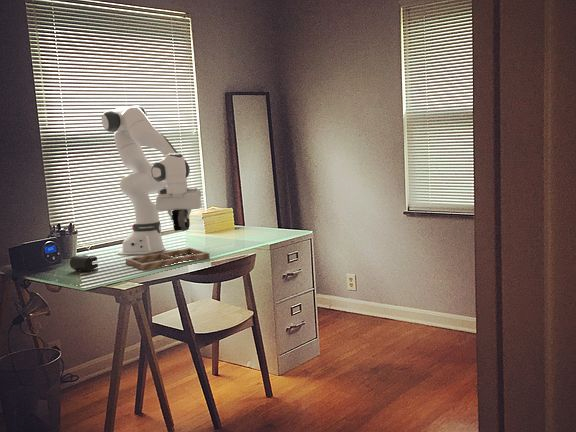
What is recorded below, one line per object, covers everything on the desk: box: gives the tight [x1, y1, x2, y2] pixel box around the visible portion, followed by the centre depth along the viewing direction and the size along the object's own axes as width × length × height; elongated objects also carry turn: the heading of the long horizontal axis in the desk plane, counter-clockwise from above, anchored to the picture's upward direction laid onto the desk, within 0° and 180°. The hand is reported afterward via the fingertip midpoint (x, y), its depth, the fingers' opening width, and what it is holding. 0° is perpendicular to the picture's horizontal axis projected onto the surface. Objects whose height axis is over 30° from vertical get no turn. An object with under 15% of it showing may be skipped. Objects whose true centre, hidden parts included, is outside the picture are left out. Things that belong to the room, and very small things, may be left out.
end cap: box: [69, 254, 99, 273], centre depth 266 cm, size 10×7×7 cm
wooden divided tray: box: [125, 247, 211, 271], centre depth 277 cm, size 32×20×2 cm, turn 125°
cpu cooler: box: [171, 209, 191, 232], centre depth 279 cm, size 10×6×10 cm, turn 175°
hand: (180, 219), depth 279 cm, fingers closed on cpu cooler, 5 cm apart
